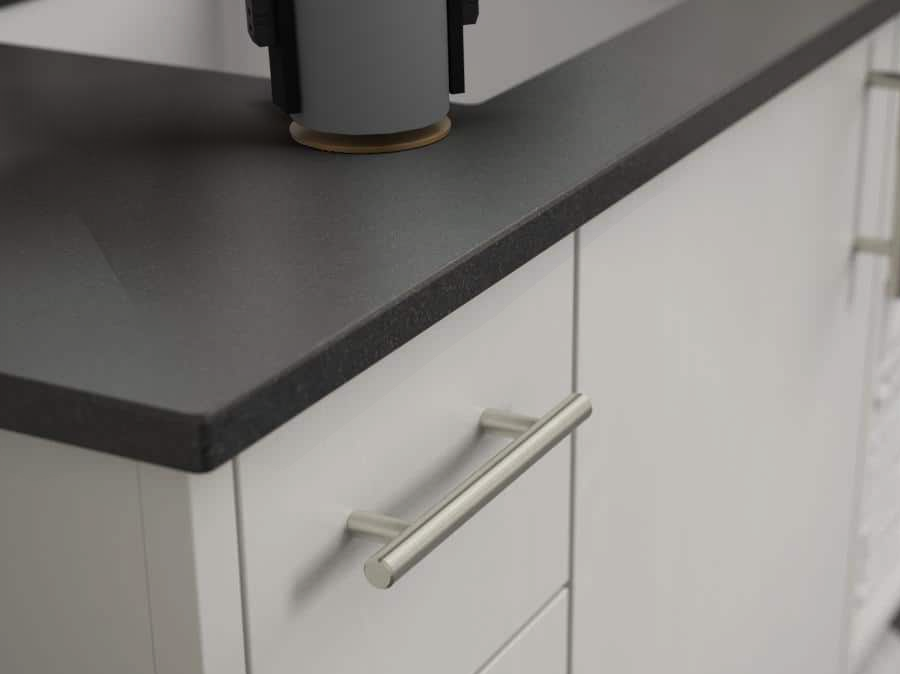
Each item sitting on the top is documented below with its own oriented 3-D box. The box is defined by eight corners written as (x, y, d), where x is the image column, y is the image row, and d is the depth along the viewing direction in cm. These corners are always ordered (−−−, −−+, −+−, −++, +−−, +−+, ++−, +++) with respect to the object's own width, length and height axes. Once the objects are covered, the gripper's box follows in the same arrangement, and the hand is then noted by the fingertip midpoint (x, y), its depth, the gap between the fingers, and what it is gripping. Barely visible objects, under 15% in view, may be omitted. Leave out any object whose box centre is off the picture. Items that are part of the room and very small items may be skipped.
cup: (262, 126, 85) (245, -76, 80) (331, 87, 91) (319, -102, 87) (413, 140, 82) (404, -68, 77) (472, 98, 89) (468, -96, 84)
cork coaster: (316, 161, 83) (316, 155, 82) (270, 119, 90) (270, 114, 89) (475, 140, 85) (475, 135, 85) (418, 101, 92) (418, 96, 92)
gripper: (129, -389, 69) (187, 140, 80) (584, -397, 76) (581, 91, 87) (98, -388, 75) (155, 103, 86) (521, -395, 82) (525, 60, 93)
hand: (369, 97), depth 86 cm, fingers closed on cup, 8 cm apart
